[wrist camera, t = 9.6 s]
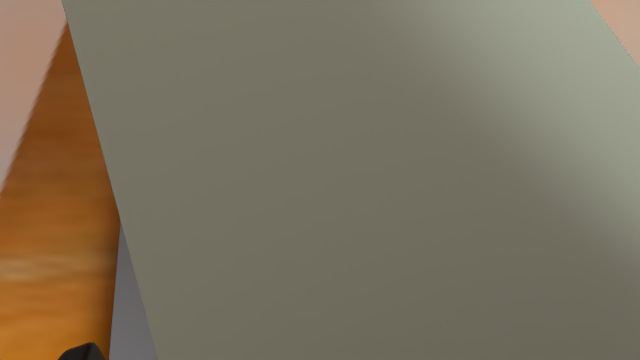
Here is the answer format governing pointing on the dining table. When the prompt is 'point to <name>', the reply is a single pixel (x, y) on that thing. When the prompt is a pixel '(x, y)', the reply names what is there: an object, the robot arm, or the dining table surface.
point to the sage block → (371, 175)
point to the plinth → (129, 313)
